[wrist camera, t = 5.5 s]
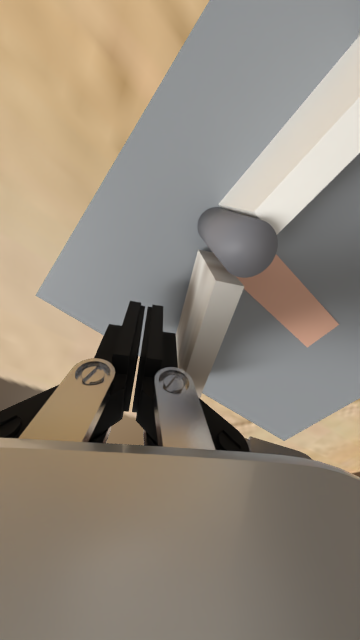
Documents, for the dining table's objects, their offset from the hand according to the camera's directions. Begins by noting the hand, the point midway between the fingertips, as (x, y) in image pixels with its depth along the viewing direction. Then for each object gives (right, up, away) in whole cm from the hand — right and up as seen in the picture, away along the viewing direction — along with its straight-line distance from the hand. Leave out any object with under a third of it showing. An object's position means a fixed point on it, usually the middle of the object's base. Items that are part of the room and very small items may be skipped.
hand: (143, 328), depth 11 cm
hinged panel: (+2, 0, +2) cm, 3 cm away
